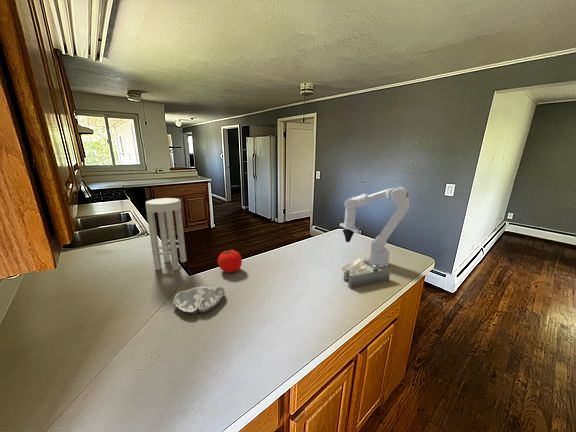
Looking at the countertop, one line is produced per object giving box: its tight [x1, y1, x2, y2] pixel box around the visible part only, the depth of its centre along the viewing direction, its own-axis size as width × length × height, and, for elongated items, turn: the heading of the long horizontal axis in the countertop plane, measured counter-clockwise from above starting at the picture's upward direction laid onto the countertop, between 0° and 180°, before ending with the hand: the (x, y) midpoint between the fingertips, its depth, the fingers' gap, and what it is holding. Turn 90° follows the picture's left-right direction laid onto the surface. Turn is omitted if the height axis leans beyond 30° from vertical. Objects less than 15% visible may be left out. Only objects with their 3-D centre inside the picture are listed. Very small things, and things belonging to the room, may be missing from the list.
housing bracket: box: [343, 264, 391, 290], centre depth 115 cm, size 22×8×5 cm, turn 110°
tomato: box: [217, 248, 243, 273], centre depth 121 cm, size 12×12×11 cm
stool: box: [145, 197, 187, 271], centre depth 123 cm, size 16×16×35 cm
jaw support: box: [340, 257, 371, 276], centre depth 119 cm, size 12×9×10 cm
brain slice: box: [172, 285, 226, 314], centre depth 96 cm, size 20×17×3 cm
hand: (347, 241), depth 139 cm, fingers closed
